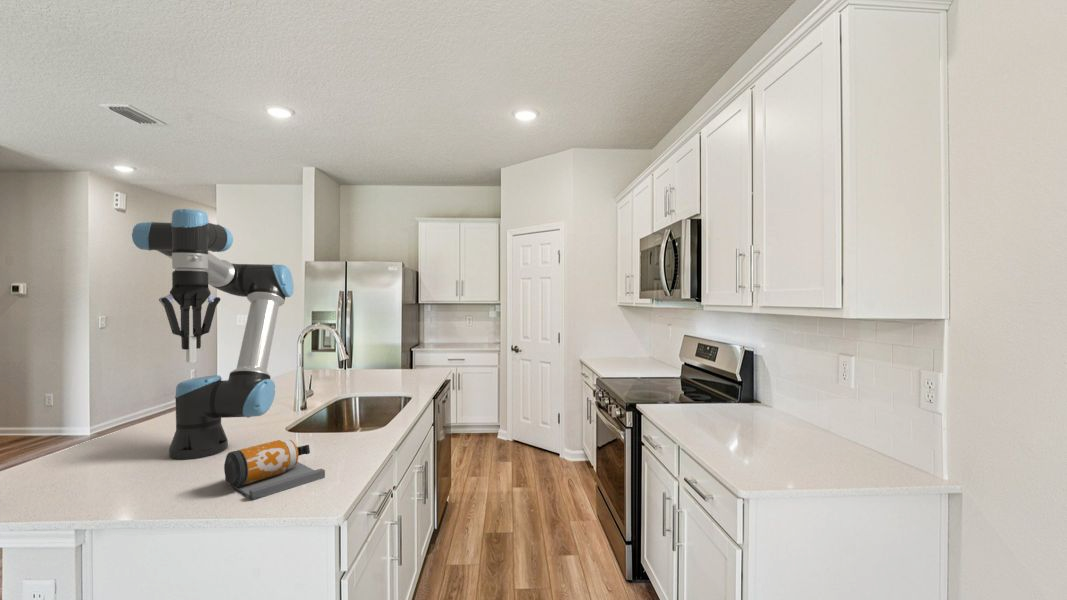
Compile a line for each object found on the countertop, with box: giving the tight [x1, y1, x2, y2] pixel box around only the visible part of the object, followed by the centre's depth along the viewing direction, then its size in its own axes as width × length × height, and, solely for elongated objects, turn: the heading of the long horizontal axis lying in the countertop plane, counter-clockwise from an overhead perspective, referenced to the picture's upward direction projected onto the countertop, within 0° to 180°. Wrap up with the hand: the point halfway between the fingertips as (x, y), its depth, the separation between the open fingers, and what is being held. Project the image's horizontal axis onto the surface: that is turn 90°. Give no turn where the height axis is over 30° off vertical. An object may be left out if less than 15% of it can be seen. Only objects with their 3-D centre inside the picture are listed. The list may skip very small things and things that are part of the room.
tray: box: [224, 461, 326, 501], centre depth 126 cm, size 18×18×2 cm
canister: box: [223, 439, 311, 489], centre depth 128 cm, size 9×11×20 cm
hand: (191, 361), depth 121 cm, fingers closed
